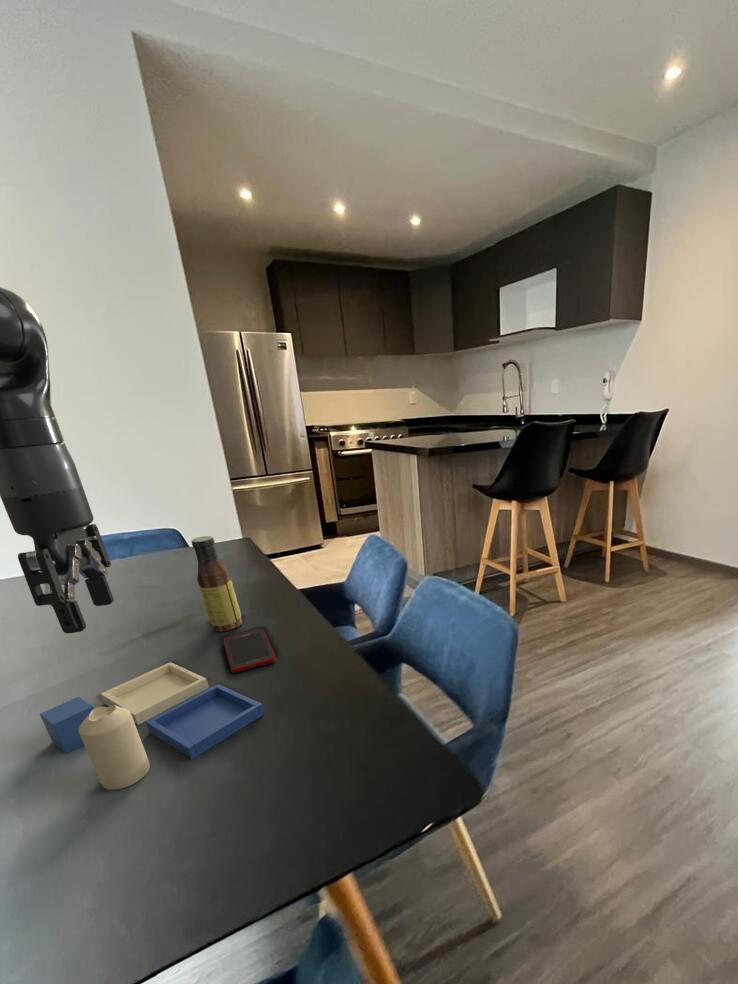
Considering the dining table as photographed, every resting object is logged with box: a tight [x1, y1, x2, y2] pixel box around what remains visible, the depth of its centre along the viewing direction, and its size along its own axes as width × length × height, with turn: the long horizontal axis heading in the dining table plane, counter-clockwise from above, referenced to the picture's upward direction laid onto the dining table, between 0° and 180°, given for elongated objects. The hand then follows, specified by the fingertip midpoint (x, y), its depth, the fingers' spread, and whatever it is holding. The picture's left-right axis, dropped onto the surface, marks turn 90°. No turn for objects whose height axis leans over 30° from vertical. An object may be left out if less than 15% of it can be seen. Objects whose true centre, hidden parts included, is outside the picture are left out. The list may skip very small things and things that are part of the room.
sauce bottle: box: [191, 535, 243, 632], centre depth 102 cm, size 6×6×20 cm
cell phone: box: [223, 629, 277, 674], centre depth 94 cm, size 8×15×1 cm, turn 28°
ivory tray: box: [100, 662, 210, 726], centre depth 81 cm, size 12×12×2 cm
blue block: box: [39, 696, 95, 754], centre depth 71 cm, size 5×5×5 cm
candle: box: [78, 705, 151, 791], centre depth 62 cm, size 6×6×10 cm
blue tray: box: [145, 683, 265, 760], centre depth 73 cm, size 12×12×2 cm
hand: (91, 617), depth 62 cm, fingers open, 8 cm apart
